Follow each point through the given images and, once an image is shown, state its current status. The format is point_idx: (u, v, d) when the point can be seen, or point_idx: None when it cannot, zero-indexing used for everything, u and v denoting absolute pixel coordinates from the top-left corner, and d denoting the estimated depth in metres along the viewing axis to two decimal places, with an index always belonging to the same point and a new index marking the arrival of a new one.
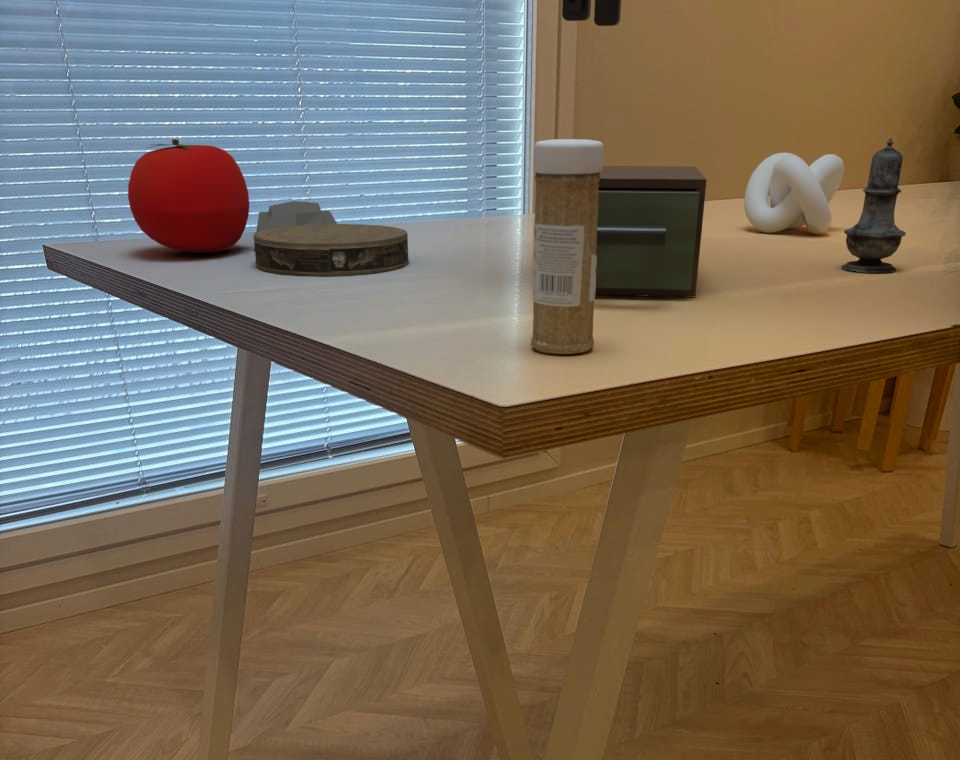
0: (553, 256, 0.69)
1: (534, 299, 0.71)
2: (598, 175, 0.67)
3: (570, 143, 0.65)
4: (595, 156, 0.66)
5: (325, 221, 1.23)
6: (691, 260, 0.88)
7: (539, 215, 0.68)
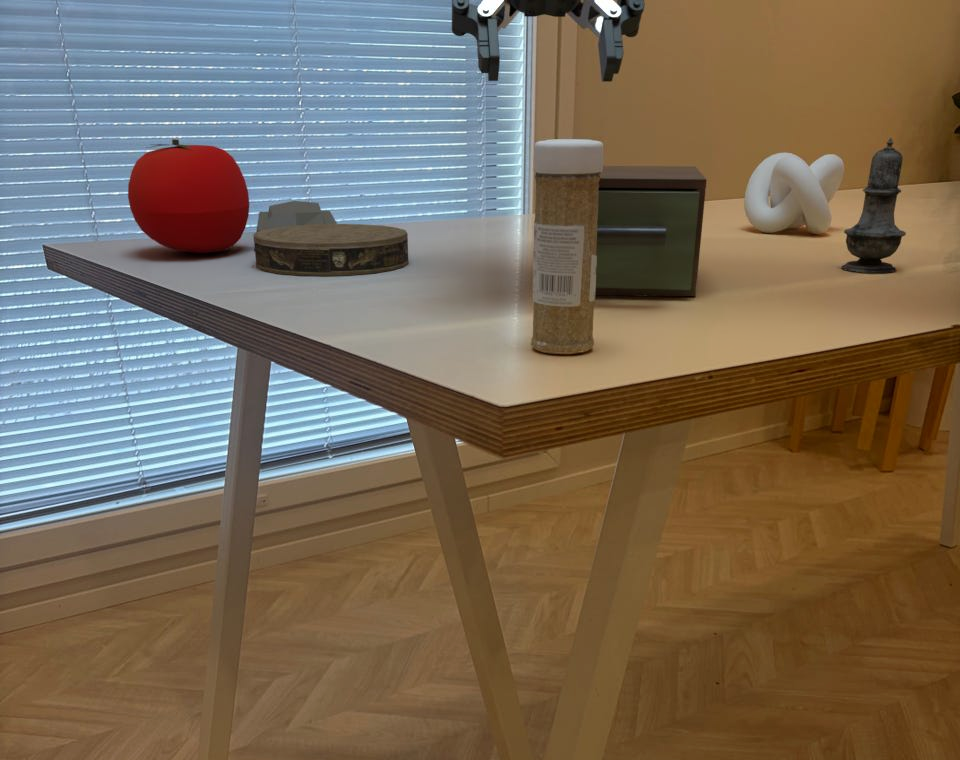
0: (553, 256, 0.69)
1: (534, 299, 0.71)
2: (598, 175, 0.67)
3: (570, 143, 0.65)
4: (595, 156, 0.66)
5: (325, 221, 1.23)
6: (691, 260, 0.88)
7: (539, 215, 0.68)
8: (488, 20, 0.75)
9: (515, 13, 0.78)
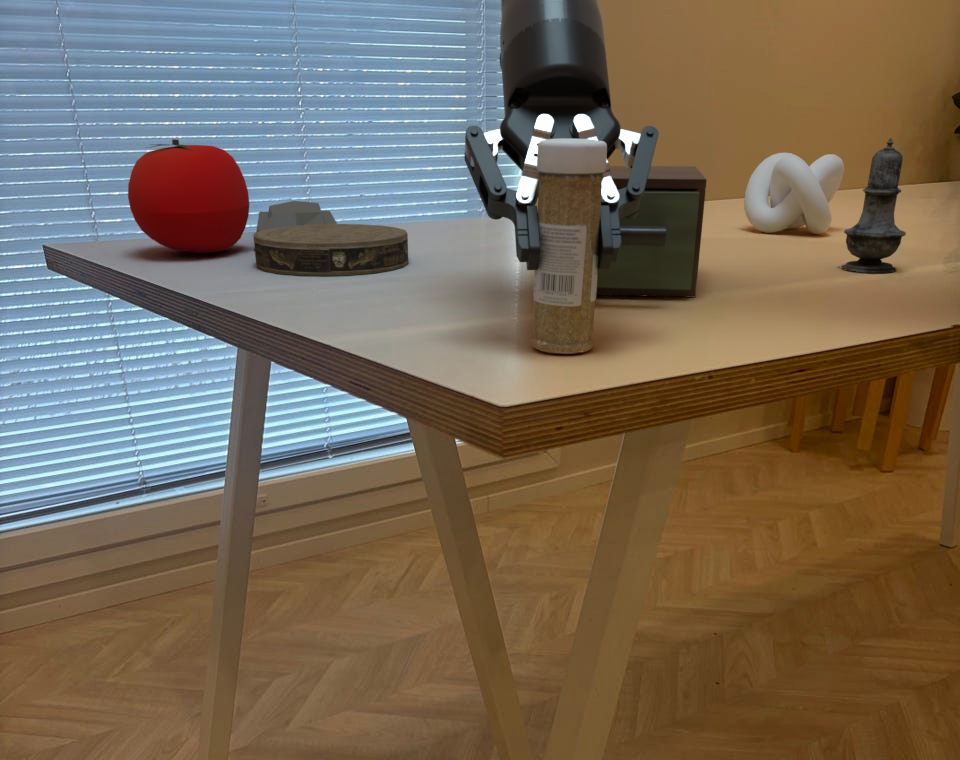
0: (555, 256, 0.69)
1: (535, 298, 0.71)
2: (601, 175, 0.67)
3: (574, 143, 0.65)
4: (599, 156, 0.66)
5: (325, 221, 1.23)
6: (691, 260, 0.88)
7: (542, 214, 0.68)
8: (527, 207, 0.69)
9: None
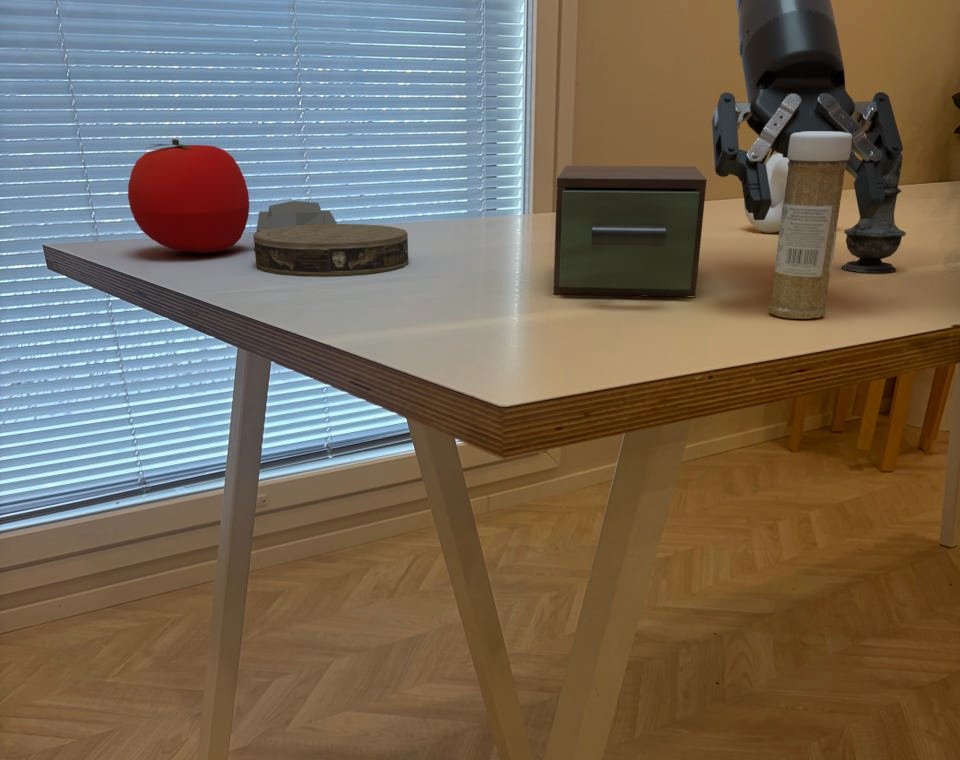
0: (803, 233, 0.79)
1: (778, 271, 0.82)
2: (845, 162, 0.78)
3: (828, 134, 0.76)
4: (848, 145, 0.77)
5: (325, 221, 1.23)
6: (691, 260, 0.88)
7: (792, 197, 0.79)
8: (757, 164, 0.79)
9: (772, 154, 0.83)
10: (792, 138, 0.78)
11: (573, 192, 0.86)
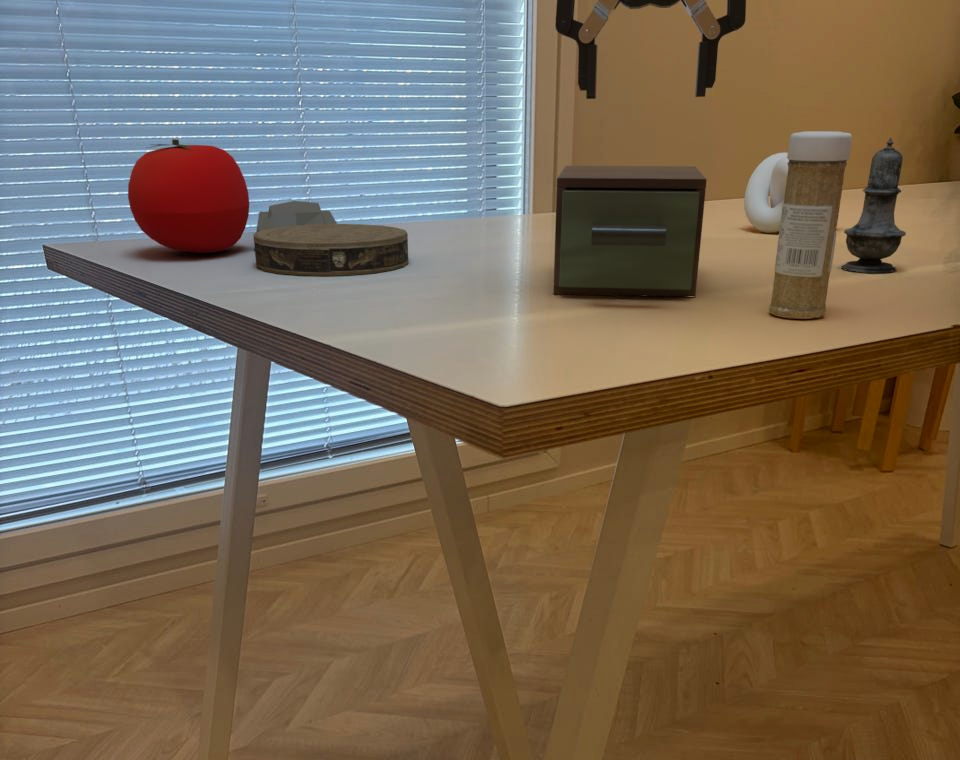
0: (803, 233, 0.79)
1: (778, 271, 0.82)
2: (845, 162, 0.78)
3: (828, 134, 0.76)
4: (847, 145, 0.77)
5: (325, 221, 1.23)
6: (691, 260, 0.88)
7: (792, 197, 0.79)
8: (588, 46, 0.79)
9: None
10: (792, 138, 0.78)
11: (573, 192, 0.86)
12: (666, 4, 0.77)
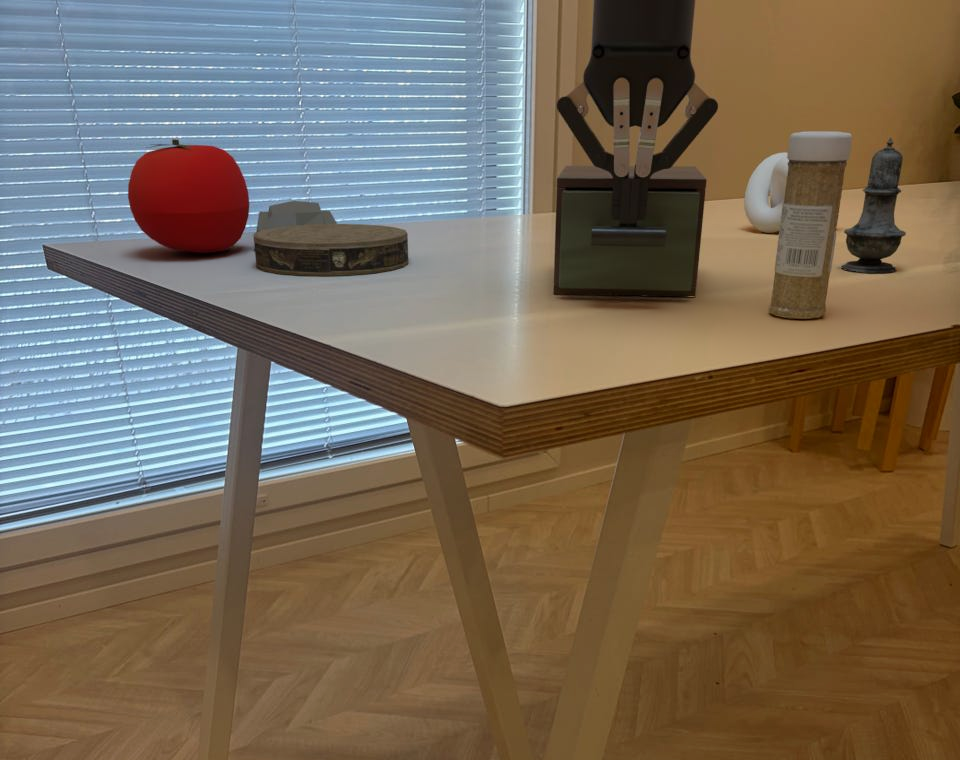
0: (803, 233, 0.79)
1: (778, 271, 0.82)
2: (845, 162, 0.78)
3: (828, 134, 0.76)
4: (847, 145, 0.77)
5: (325, 221, 1.23)
6: (691, 261, 0.87)
7: (792, 197, 0.79)
8: (622, 179, 0.82)
9: None
10: (792, 138, 0.78)
11: (573, 193, 0.86)
12: (651, 127, 0.80)
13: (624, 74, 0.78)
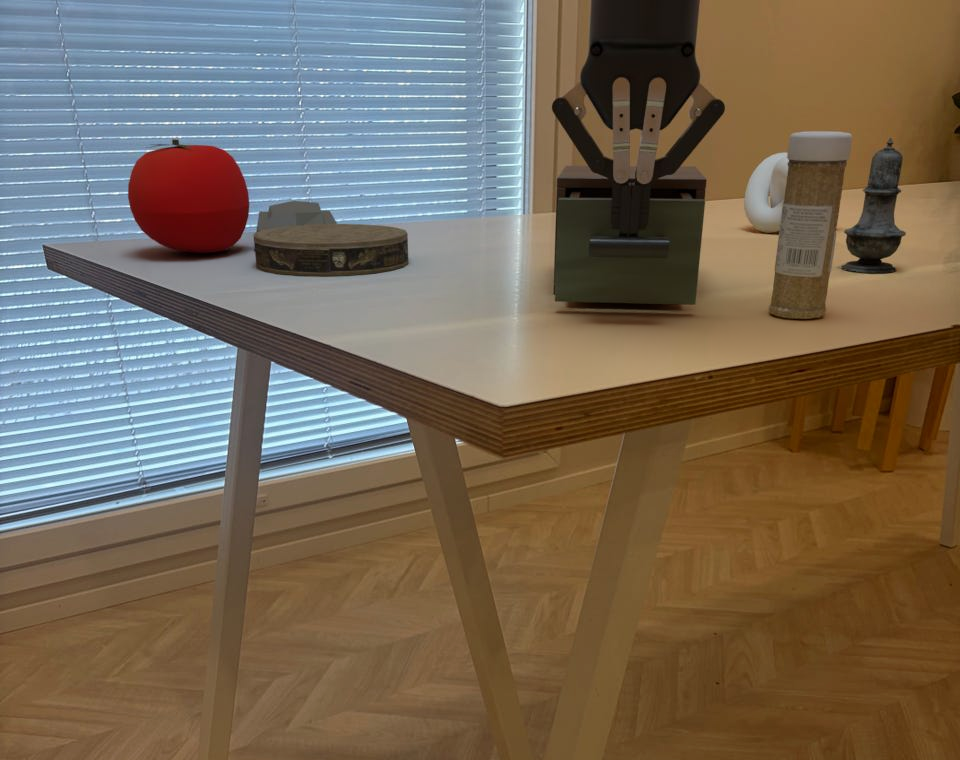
0: (803, 233, 0.79)
1: (778, 271, 0.82)
2: (845, 162, 0.78)
3: (828, 134, 0.76)
4: (847, 145, 0.77)
5: (325, 221, 1.23)
6: (695, 273, 0.82)
7: (792, 197, 0.79)
8: (622, 186, 0.76)
9: None
10: (792, 138, 0.78)
11: (569, 200, 0.81)
12: (653, 130, 0.74)
13: (624, 73, 0.73)
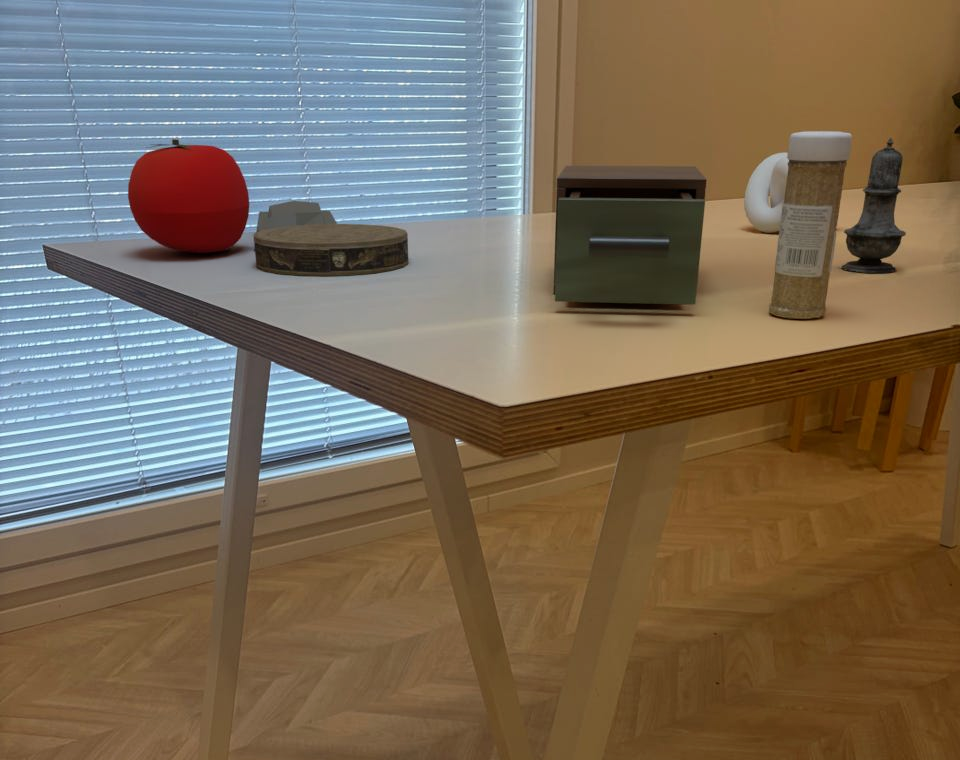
0: (803, 233, 0.79)
1: (778, 271, 0.82)
2: (845, 162, 0.78)
3: (828, 134, 0.76)
4: (847, 145, 0.77)
5: (325, 221, 1.23)
6: (695, 273, 0.82)
7: (792, 197, 0.79)
8: None
9: None
10: (792, 138, 0.78)
11: (569, 200, 0.81)
12: None
13: None
